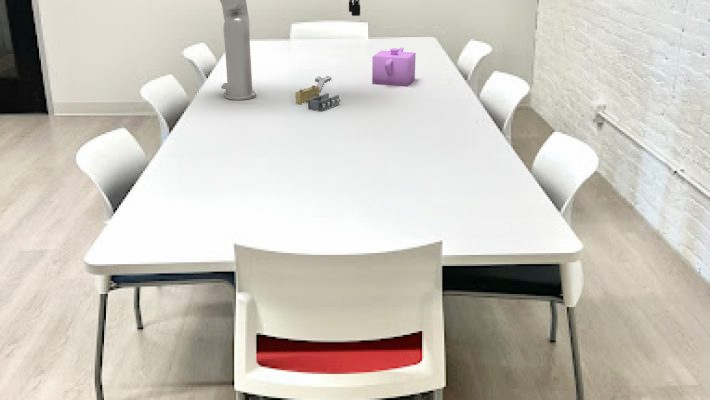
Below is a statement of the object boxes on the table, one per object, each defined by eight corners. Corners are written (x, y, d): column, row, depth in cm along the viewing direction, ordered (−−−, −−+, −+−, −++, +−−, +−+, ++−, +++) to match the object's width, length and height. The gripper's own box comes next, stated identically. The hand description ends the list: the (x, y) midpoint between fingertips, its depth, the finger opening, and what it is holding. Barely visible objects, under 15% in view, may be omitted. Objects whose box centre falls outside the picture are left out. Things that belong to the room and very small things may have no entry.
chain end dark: (306, 108, 280) (306, 99, 278) (316, 105, 284) (316, 96, 283) (322, 111, 276) (321, 102, 275) (331, 107, 281) (331, 98, 279)
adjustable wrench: (320, 94, 301) (320, 90, 301) (304, 94, 302) (304, 89, 302) (332, 79, 324) (332, 75, 323) (317, 79, 325) (317, 75, 324)
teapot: (418, 76, 330) (419, 44, 324) (404, 89, 307) (405, 55, 302) (385, 73, 334) (385, 42, 328) (368, 86, 312) (369, 52, 306)
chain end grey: (317, 104, 285) (317, 95, 284) (325, 101, 289) (325, 92, 288) (332, 107, 281) (332, 98, 280) (340, 104, 285) (340, 95, 284)
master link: (295, 103, 287) (295, 90, 285) (314, 97, 296) (314, 84, 294) (300, 104, 286) (300, 91, 284) (319, 98, 295) (319, 85, 293)
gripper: (342, -35, 290) (342, 10, 297) (347, -31, 274) (347, 17, 281) (361, -35, 291) (361, 10, 298) (367, -31, 275) (367, 17, 282)
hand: (354, 13), depth 289 cm, fingers open, 9 cm apart
